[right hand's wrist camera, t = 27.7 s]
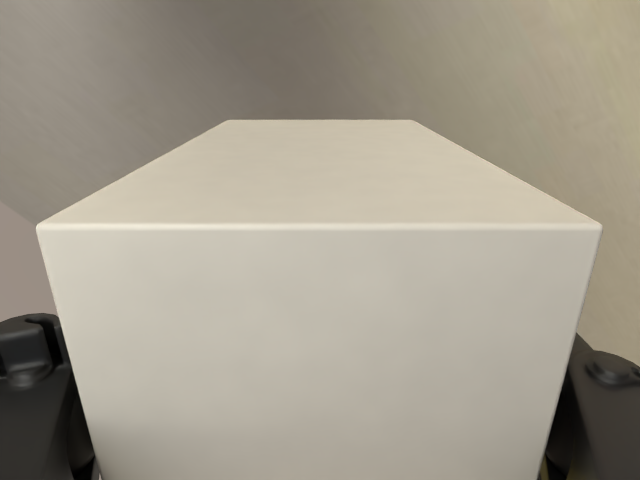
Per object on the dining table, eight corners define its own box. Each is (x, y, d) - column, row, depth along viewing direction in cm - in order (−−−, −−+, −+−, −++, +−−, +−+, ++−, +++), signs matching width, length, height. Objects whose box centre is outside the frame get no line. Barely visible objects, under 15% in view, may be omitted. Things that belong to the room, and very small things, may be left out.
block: (398, 314, 18) (499, 632, 8) (241, 314, 18) (139, 631, 8) (413, 119, 15) (608, 224, 5) (226, 119, 15) (30, 224, 5)
